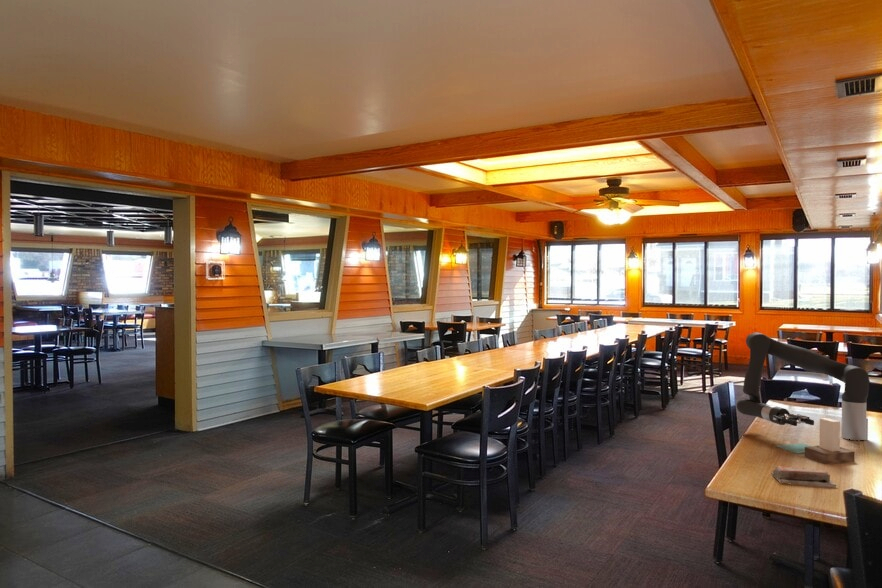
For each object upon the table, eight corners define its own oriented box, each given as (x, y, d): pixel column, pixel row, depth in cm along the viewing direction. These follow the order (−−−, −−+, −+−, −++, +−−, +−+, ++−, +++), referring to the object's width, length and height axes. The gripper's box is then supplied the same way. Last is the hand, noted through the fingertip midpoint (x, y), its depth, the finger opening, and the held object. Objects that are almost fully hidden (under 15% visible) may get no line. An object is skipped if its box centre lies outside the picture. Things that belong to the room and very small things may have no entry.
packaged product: (779, 471, 205) (771, 462, 215) (779, 484, 205) (770, 475, 215) (837, 475, 201) (825, 466, 210) (837, 489, 201) (825, 479, 211)
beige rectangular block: (826, 446, 237) (826, 417, 237) (839, 451, 231) (839, 421, 231) (819, 447, 236) (819, 418, 236) (832, 451, 230) (832, 421, 230)
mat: (803, 444, 254) (803, 443, 254) (825, 451, 243) (825, 450, 243) (776, 446, 251) (776, 445, 251) (797, 454, 240) (797, 452, 240)
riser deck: (832, 454, 240) (832, 444, 240) (854, 461, 230) (854, 451, 230) (804, 456, 237) (804, 446, 237) (825, 464, 227) (825, 453, 227)
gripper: (762, 407, 260) (791, 415, 244) (788, 405, 263) (819, 413, 247) (761, 423, 260) (790, 432, 244) (788, 422, 263) (818, 431, 247)
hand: (804, 423), depth 245 cm, fingers open, 8 cm apart
